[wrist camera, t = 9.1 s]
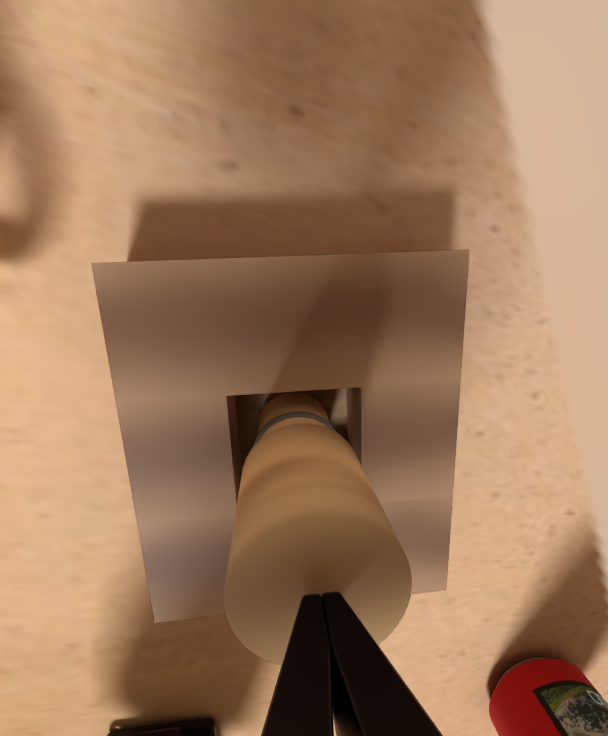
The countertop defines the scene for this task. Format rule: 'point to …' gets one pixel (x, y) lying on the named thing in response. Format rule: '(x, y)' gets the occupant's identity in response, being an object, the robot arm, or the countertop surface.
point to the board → (281, 374)
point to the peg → (308, 532)
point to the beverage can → (547, 701)
